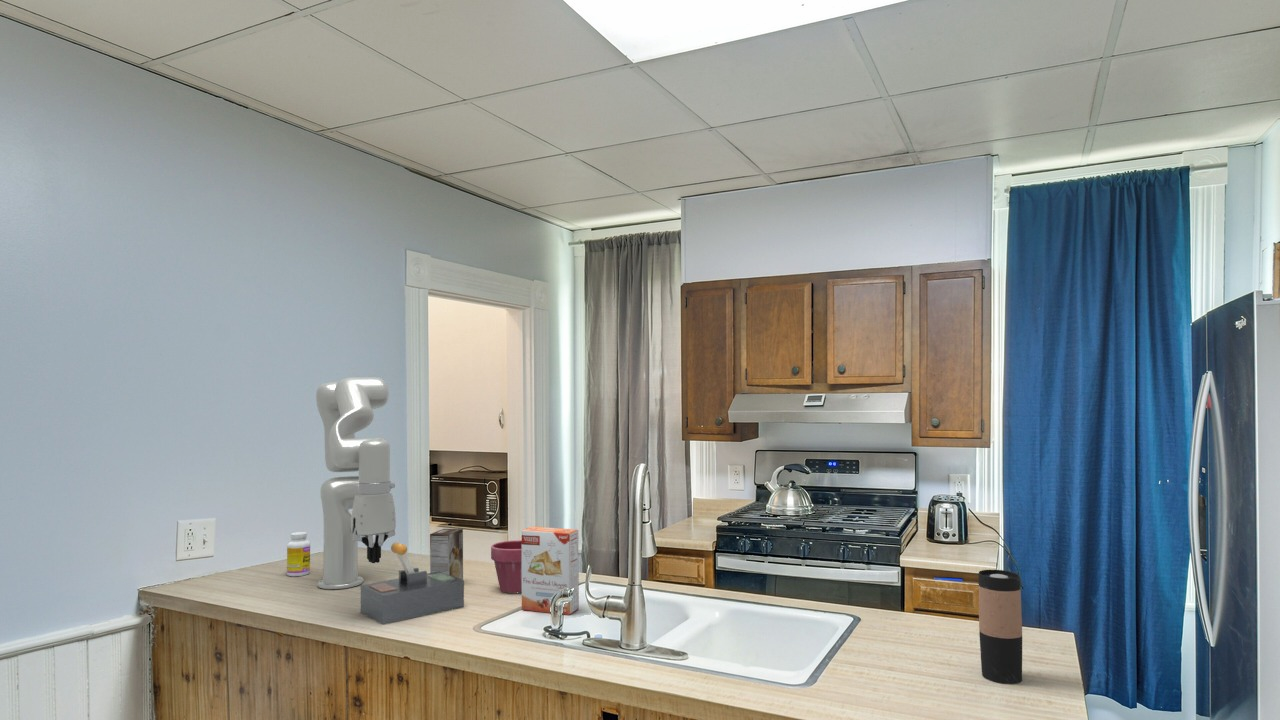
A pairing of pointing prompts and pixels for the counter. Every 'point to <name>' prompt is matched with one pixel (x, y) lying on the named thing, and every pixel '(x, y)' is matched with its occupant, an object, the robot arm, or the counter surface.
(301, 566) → the supplement bottle
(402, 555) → the breaker lever
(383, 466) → the robot arm
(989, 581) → the travel mug
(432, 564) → the coffee box
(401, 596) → the breaker box
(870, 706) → the counter surface
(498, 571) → the plant pot
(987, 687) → the counter surface
